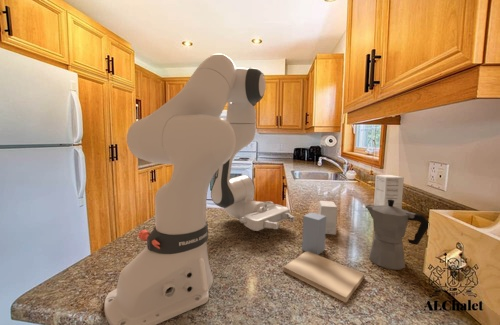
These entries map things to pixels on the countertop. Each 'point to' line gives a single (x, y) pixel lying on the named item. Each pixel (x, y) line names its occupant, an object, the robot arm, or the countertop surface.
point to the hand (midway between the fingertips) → (286, 222)
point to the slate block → (314, 233)
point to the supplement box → (388, 190)
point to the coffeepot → (392, 234)
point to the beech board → (325, 275)
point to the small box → (329, 215)
